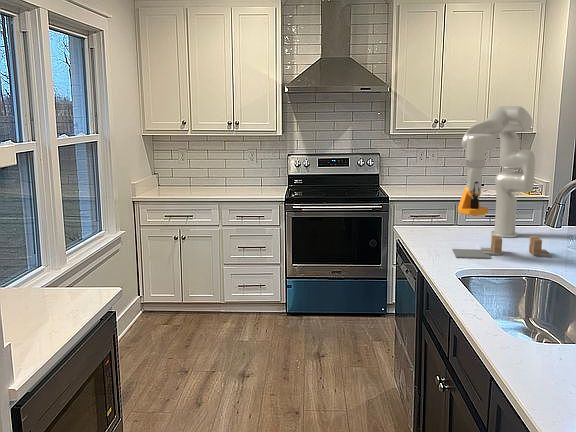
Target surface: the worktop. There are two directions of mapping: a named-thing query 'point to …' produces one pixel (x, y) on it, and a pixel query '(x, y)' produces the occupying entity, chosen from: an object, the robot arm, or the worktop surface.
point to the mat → (470, 253)
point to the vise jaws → (534, 247)
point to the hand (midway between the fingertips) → (473, 206)
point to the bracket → (466, 202)
